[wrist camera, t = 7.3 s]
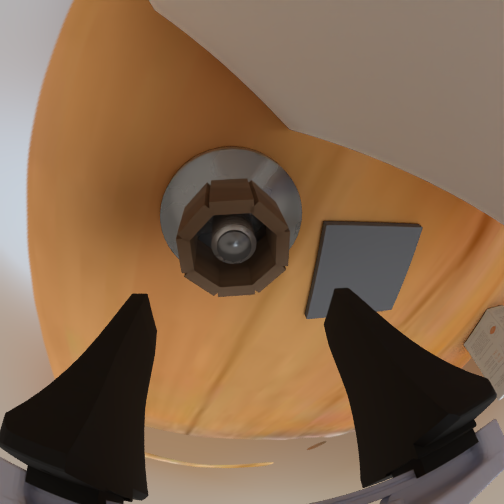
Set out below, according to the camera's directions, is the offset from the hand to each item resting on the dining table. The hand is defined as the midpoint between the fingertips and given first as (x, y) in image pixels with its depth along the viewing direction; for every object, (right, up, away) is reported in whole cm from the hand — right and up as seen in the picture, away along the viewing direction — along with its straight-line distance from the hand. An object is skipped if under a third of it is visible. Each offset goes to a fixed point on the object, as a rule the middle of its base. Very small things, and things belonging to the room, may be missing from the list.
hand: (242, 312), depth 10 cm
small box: (+39, -10, +22) cm, 46 cm away
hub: (-1, +5, +8) cm, 9 cm away
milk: (+3, +17, +1) cm, 17 cm away
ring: (-1, +4, +7) cm, 8 cm away
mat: (+10, +1, +12) cm, 15 cm away
